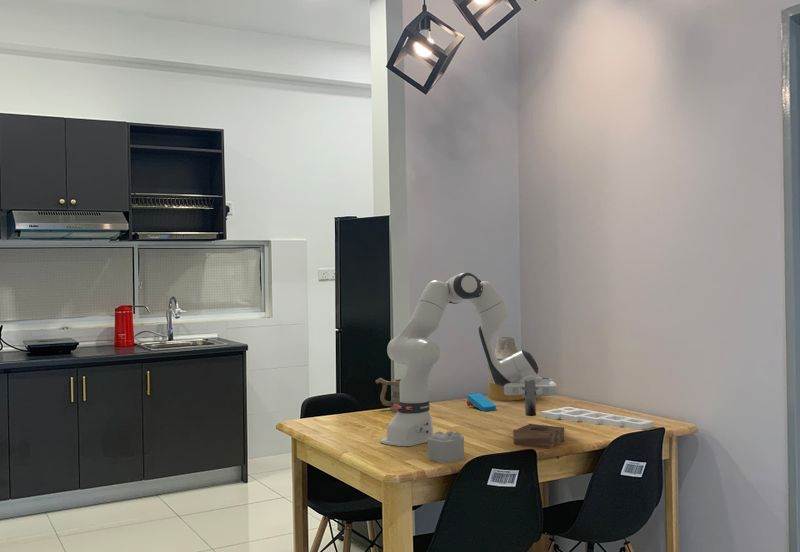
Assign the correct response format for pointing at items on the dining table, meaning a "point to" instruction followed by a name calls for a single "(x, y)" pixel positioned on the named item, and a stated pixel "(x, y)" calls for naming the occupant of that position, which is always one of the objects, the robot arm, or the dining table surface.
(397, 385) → the tankard
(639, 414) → the dining table surface
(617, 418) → the holder
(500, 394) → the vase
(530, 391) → the dark grey rounded rod
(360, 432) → the dining table surface
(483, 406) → the blue and red block
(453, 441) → the lumpy-topped squat cylinder
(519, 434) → the socket block
